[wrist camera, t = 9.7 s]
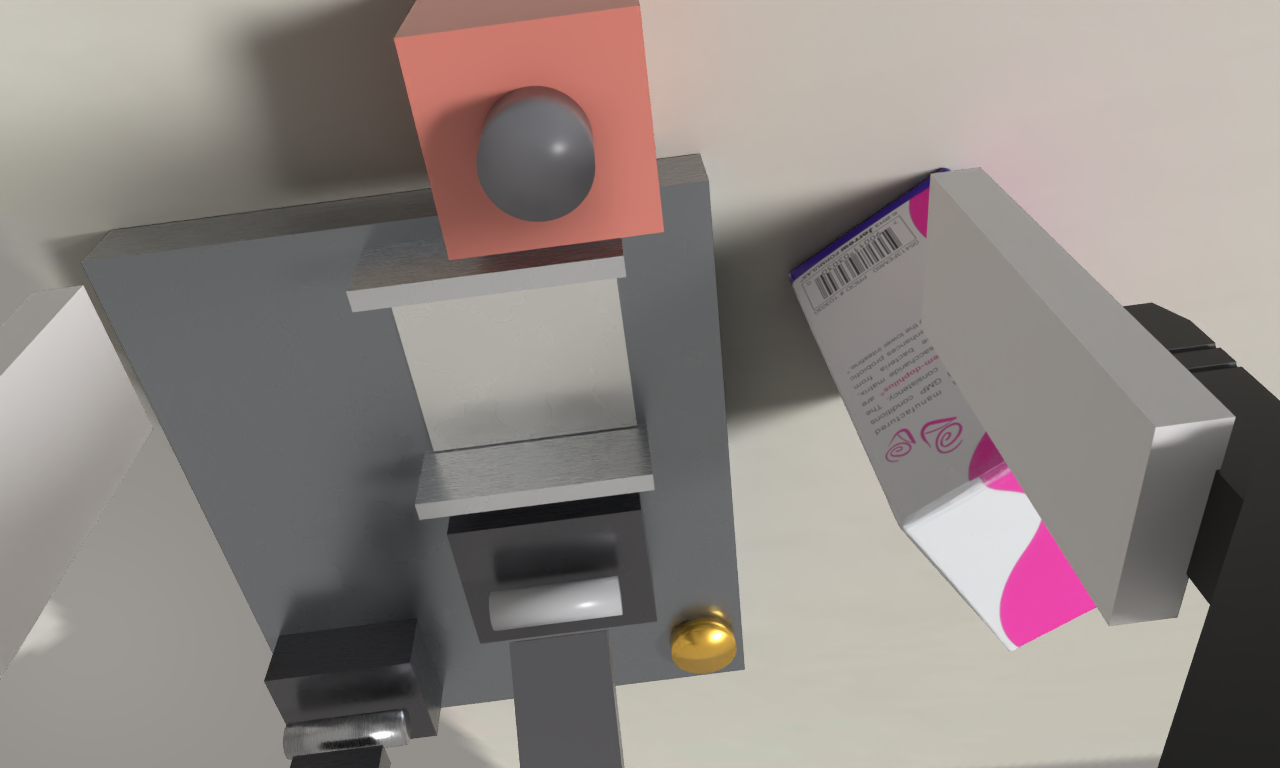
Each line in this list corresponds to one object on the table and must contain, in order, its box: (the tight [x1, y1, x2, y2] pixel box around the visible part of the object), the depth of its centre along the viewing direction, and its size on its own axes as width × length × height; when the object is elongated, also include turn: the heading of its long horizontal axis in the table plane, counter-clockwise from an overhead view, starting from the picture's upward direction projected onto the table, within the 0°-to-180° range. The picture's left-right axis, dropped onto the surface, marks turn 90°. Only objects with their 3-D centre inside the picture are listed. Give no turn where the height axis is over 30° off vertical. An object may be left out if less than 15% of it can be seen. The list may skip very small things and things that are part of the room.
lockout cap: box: [394, 0, 664, 260], centre depth 22 cm, size 5×5×8 cm
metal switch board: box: [81, 154, 745, 768], centre depth 26 cm, size 20×17×16 cm
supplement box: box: [788, 168, 1096, 651], centre depth 25 cm, size 6×6×12 cm
